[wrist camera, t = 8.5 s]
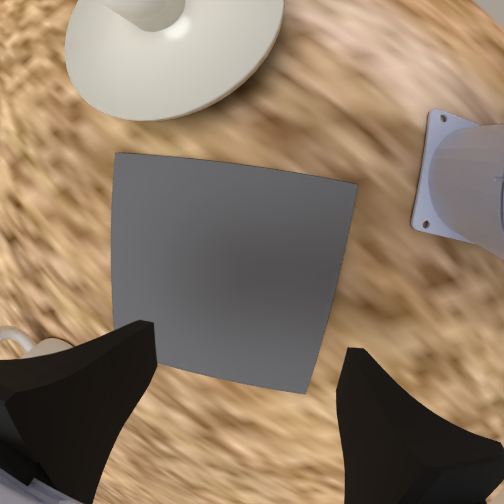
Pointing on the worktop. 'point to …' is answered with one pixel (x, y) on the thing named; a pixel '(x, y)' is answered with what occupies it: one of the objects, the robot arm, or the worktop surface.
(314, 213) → the mat
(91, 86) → the lid
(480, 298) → the worktop surface
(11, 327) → the mug
